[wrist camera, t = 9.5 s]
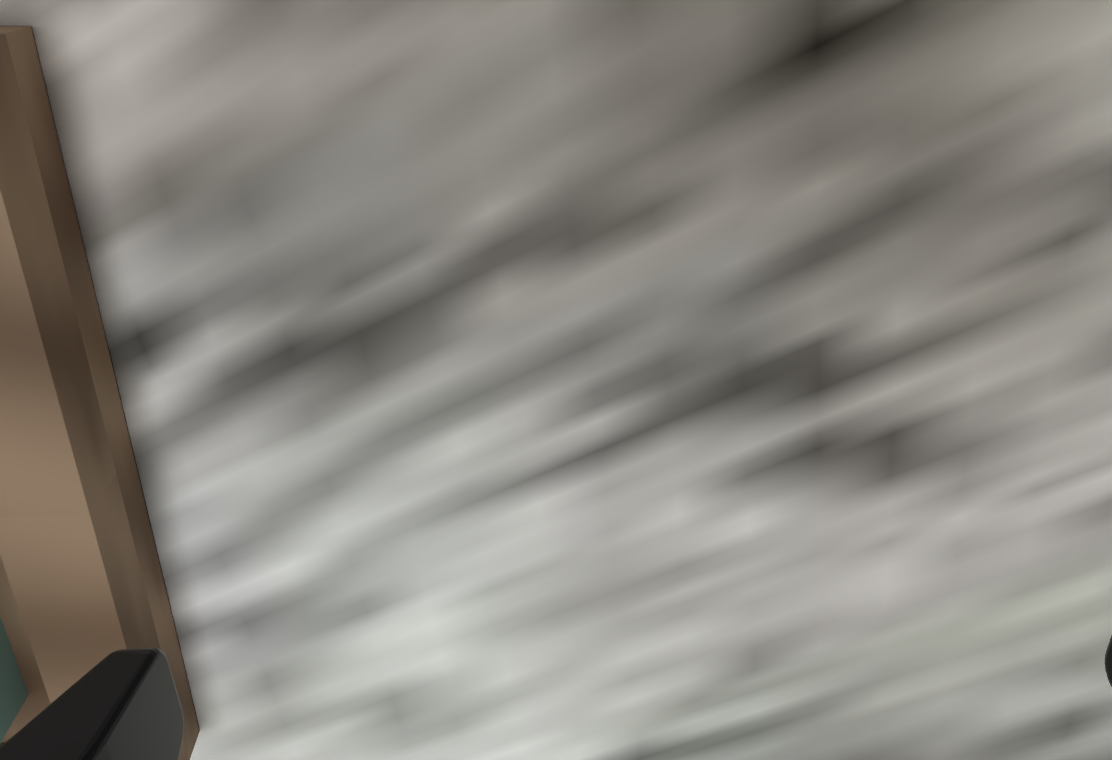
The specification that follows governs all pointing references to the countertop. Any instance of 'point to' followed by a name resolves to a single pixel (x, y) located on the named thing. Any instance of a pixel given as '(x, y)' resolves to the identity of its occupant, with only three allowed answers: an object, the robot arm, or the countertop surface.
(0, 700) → the teal block
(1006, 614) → the countertop surface
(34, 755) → the robot arm
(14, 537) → the puzzle board
